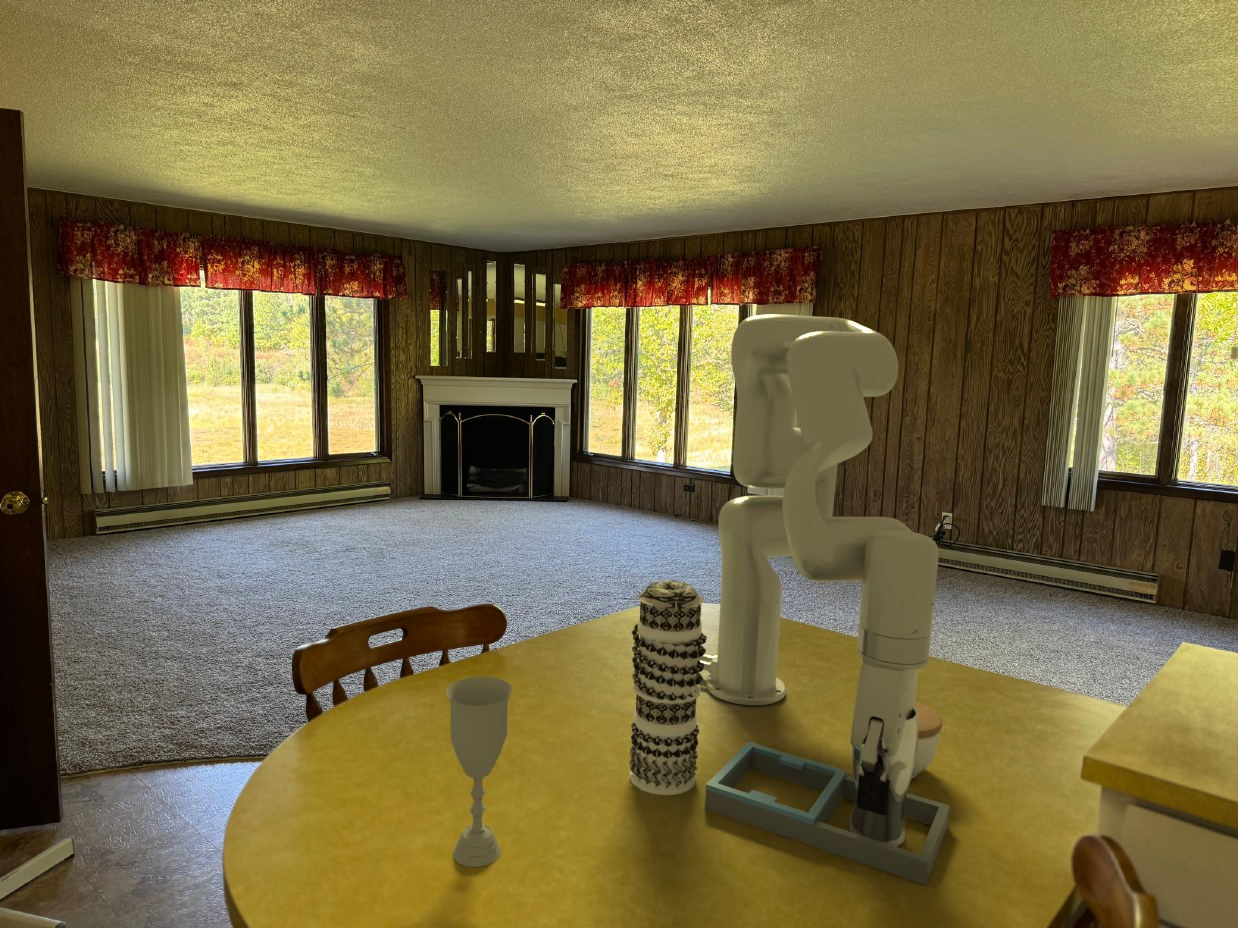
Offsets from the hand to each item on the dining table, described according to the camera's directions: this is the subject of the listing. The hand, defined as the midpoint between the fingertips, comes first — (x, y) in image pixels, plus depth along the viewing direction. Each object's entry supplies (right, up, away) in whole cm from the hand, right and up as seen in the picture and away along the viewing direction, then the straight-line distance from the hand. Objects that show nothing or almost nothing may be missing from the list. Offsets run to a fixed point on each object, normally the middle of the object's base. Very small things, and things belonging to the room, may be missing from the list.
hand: (879, 794), depth 93 cm
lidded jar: (+7, -3, +16) cm, 18 cm away
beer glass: (0, -5, +1) cm, 5 cm away
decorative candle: (-24, -3, +11) cm, 27 cm away
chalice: (-45, -4, -6) cm, 45 cm away
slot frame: (-5, -4, +3) cm, 8 cm away
